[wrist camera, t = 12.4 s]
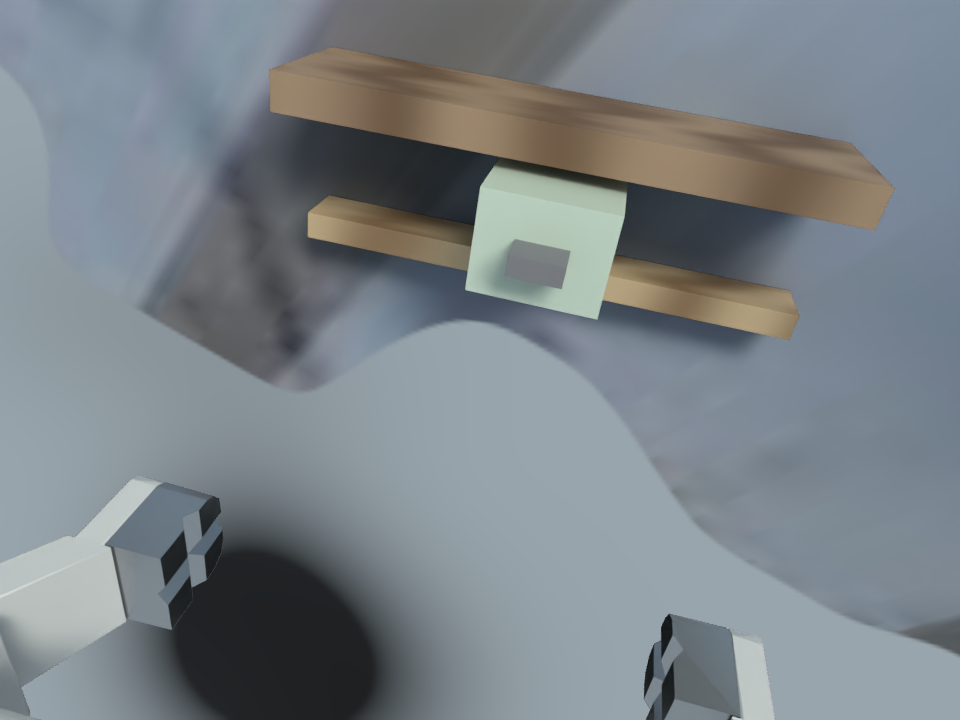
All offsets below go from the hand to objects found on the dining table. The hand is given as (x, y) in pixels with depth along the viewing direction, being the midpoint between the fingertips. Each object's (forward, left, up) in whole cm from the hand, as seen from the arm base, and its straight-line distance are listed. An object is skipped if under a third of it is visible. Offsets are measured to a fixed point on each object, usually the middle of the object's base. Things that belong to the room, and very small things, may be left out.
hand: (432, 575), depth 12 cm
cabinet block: (0, 0, -23) cm, 23 cm away
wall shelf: (0, 0, -23) cm, 23 cm away
